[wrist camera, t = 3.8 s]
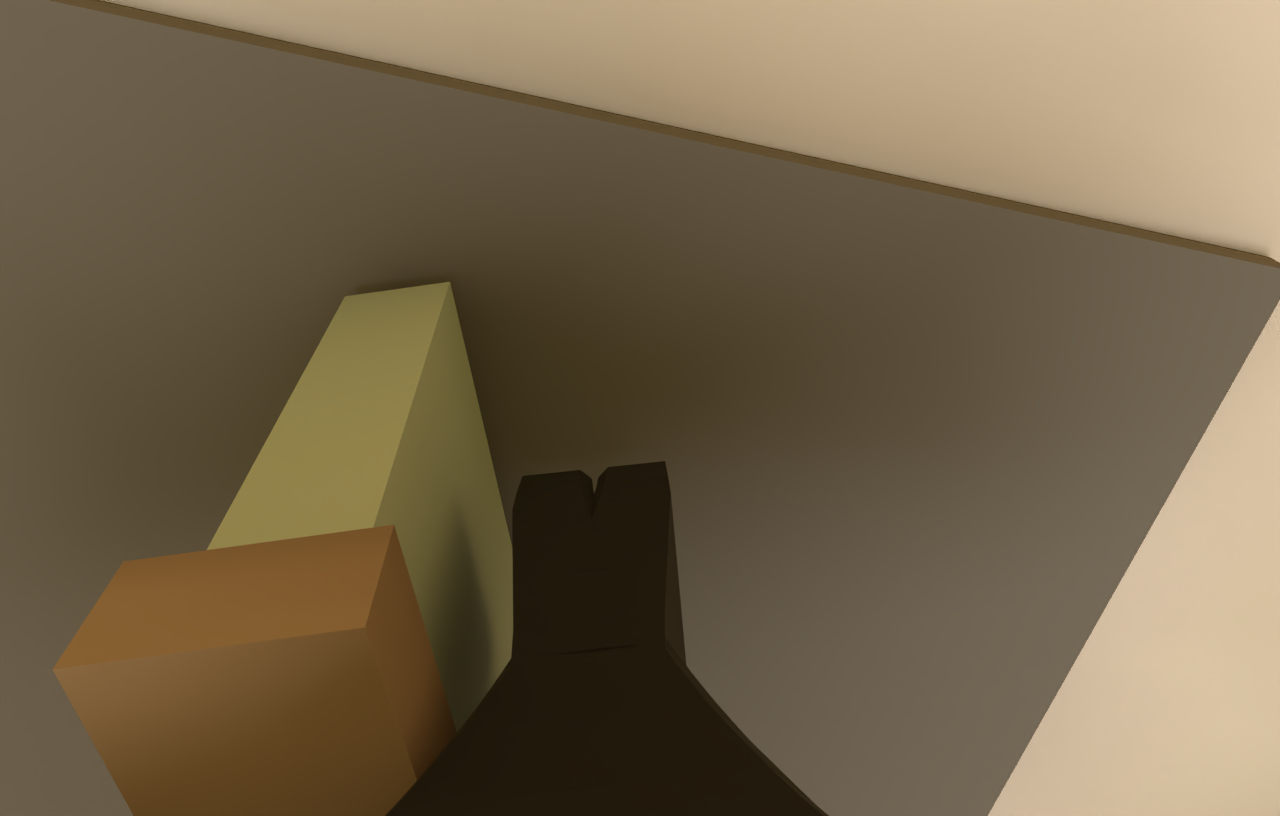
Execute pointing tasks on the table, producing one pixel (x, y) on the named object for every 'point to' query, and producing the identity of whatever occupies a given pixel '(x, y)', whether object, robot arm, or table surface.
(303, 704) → the olive flat block
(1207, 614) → the table surface
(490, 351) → the mat
